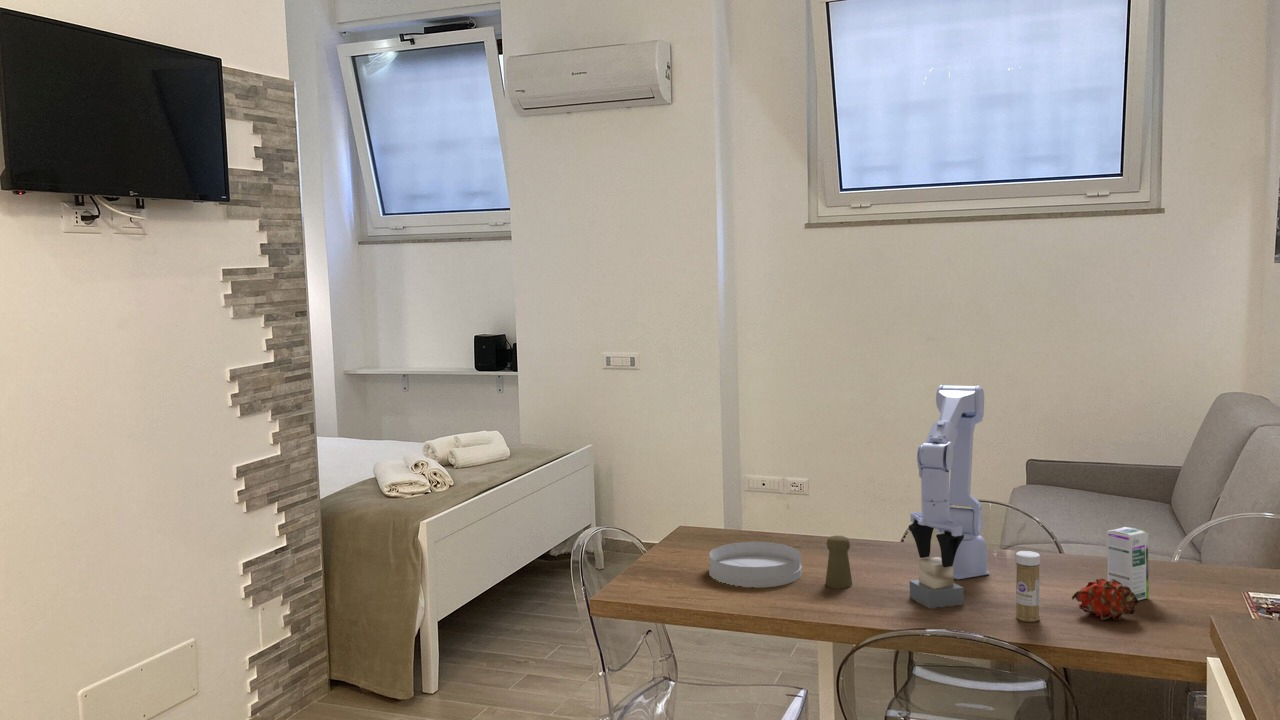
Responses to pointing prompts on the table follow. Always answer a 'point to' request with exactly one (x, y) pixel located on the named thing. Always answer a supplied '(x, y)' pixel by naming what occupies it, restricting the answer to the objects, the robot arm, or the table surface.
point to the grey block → (936, 595)
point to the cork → (838, 563)
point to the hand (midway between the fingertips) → (935, 561)
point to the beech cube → (935, 573)
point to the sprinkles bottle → (1027, 586)
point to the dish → (755, 564)
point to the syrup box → (1129, 559)
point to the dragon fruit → (1106, 599)
